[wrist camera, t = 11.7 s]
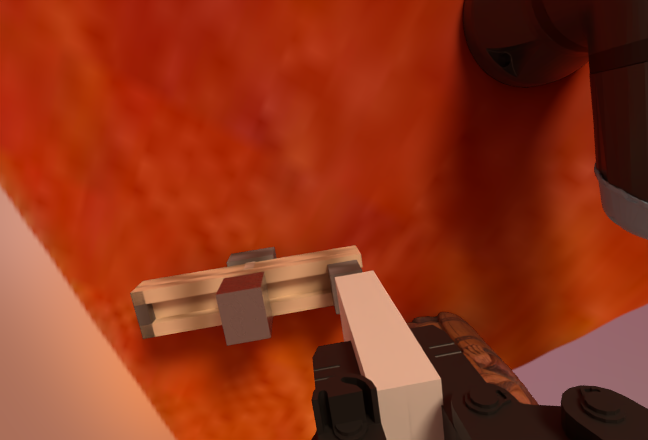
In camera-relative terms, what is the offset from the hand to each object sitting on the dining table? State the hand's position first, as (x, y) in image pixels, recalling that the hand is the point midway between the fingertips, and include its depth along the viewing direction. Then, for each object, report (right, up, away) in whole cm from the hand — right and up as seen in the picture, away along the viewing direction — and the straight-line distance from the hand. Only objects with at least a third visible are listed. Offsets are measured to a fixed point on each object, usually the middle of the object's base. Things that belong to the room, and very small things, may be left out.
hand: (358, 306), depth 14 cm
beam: (-9, -3, +29) cm, 31 cm away
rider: (-9, -4, +24) cm, 26 cm away
